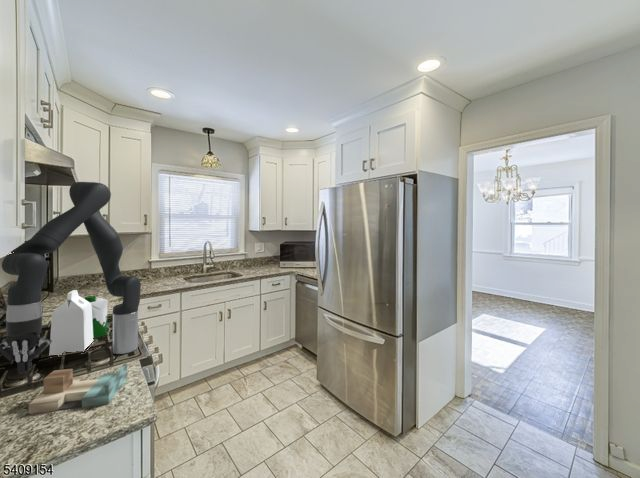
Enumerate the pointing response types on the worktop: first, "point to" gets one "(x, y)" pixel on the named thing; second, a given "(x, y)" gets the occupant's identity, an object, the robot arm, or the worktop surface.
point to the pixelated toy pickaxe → (81, 393)
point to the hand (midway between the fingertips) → (24, 372)
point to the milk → (71, 325)
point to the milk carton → (98, 315)
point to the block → (58, 381)
